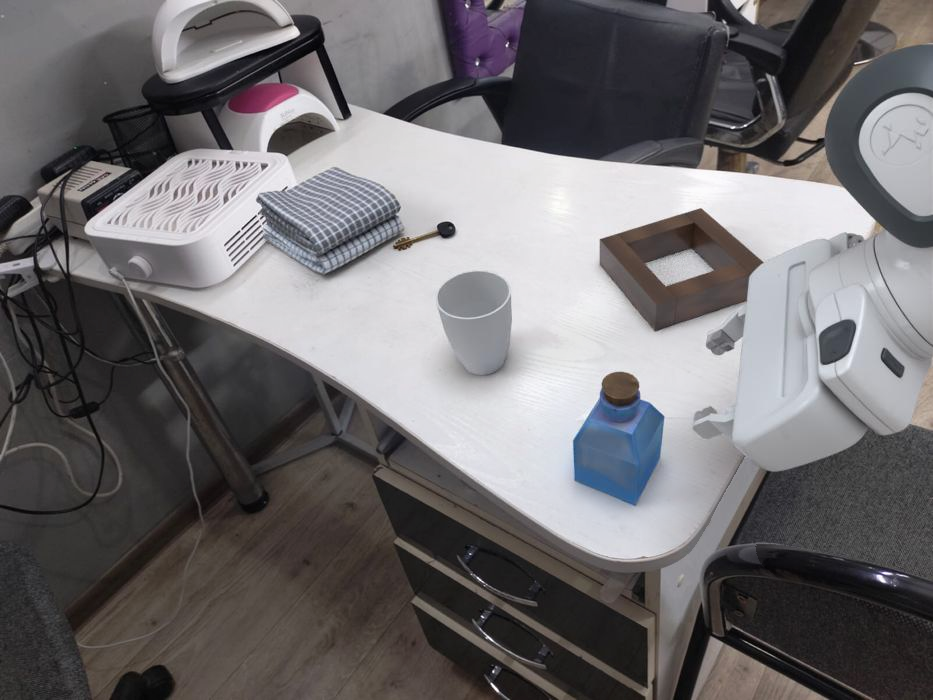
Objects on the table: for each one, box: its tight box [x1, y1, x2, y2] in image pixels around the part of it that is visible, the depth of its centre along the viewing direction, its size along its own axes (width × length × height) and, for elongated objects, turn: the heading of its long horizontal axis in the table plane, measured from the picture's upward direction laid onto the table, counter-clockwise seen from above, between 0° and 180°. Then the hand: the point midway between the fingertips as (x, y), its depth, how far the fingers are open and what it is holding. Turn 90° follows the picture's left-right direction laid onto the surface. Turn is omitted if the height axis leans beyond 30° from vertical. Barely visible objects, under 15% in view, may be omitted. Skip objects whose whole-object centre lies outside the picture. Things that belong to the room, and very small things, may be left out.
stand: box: [599, 207, 765, 332], centre depth 84 cm, size 14×14×4 cm
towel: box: [255, 166, 405, 275], centre depth 100 cm, size 15×18×8 cm
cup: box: [435, 269, 513, 376], centre depth 76 cm, size 8×8×10 cm
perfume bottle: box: [572, 371, 665, 507], centre depth 62 cm, size 6×6×12 cm
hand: (705, 383), depth 57 cm, fingers open, 8 cm apart
